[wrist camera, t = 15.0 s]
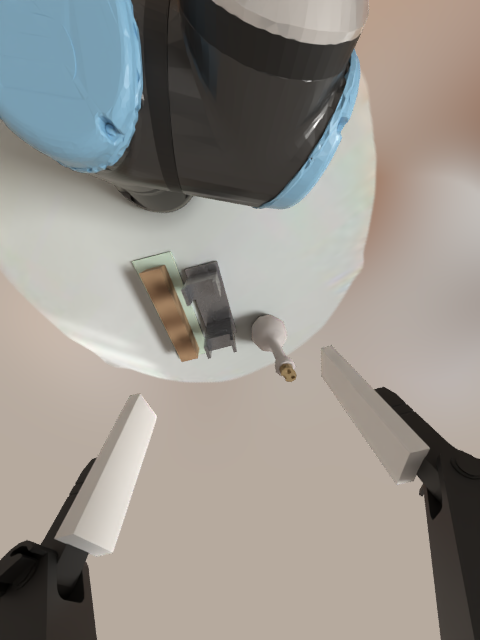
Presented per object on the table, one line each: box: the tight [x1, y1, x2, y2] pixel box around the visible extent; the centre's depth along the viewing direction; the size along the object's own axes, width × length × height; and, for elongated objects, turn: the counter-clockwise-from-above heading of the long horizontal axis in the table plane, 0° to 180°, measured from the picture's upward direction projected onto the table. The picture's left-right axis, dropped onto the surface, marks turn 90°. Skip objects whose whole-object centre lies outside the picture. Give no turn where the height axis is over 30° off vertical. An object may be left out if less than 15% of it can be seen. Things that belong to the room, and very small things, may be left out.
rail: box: [139, 265, 199, 362], centre depth 41 cm, size 22×4×4 cm, turn 13°
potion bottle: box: [252, 314, 296, 382], centre depth 39 cm, size 9×9×18 cm
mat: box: [132, 252, 206, 355], centre depth 43 cm, size 26×8×1 cm, turn 13°
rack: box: [181, 261, 237, 359], centre depth 38 cm, size 18×7×10 cm, turn 13°
